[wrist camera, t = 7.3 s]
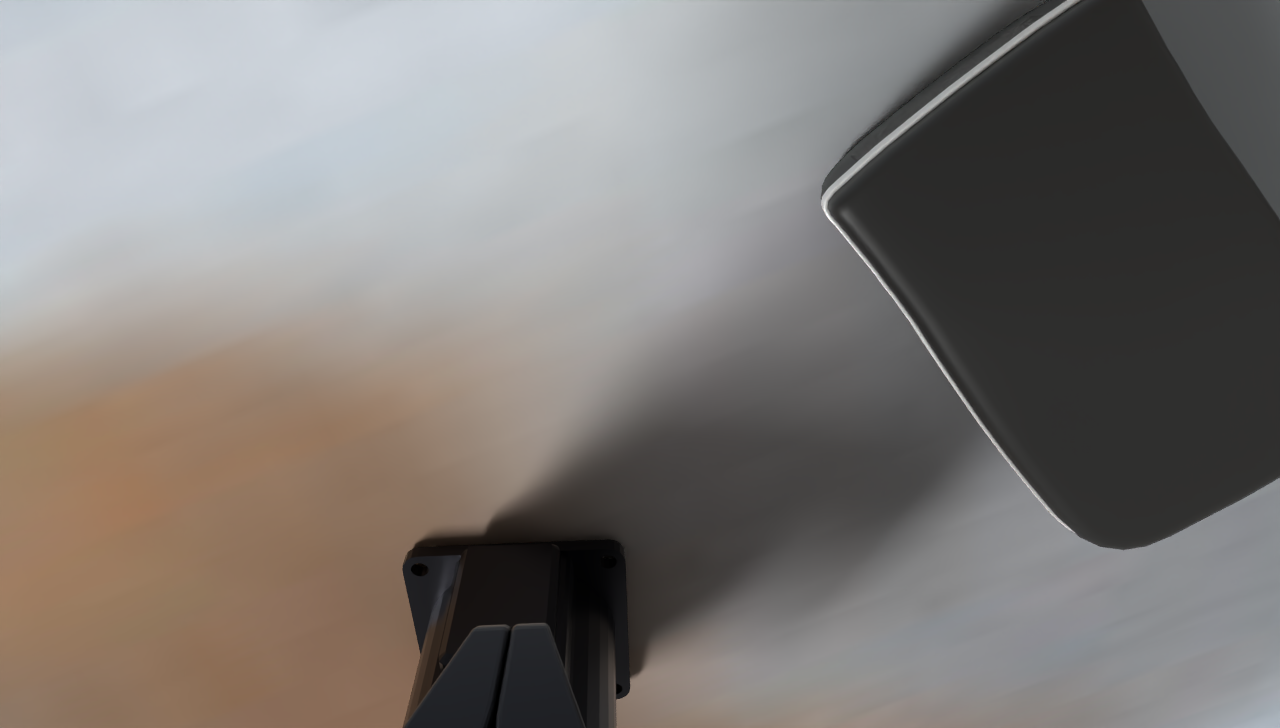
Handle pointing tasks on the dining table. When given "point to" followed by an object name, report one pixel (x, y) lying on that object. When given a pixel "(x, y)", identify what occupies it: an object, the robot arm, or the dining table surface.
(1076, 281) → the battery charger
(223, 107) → the dining table surface
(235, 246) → the dining table surface
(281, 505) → the dining table surface
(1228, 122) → the mat
